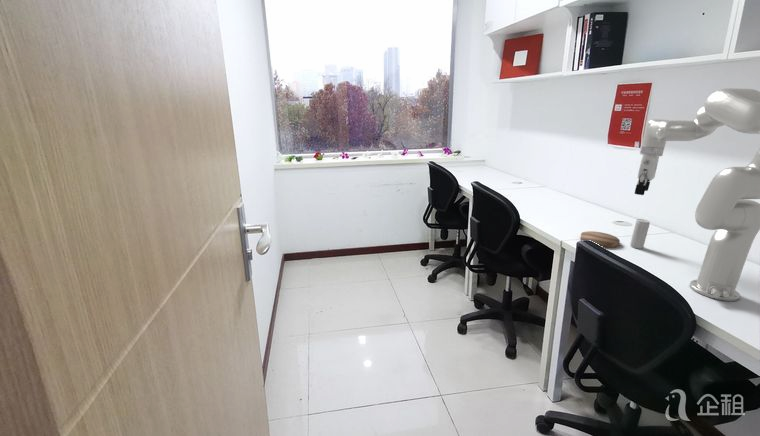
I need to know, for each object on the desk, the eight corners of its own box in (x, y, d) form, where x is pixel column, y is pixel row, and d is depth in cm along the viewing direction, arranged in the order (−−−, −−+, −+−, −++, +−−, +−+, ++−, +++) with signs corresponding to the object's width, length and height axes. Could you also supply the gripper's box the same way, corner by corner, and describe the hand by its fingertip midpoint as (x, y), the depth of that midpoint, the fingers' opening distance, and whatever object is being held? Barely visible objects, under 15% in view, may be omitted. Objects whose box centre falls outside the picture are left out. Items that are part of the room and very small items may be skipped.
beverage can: (639, 245, 162) (645, 219, 158) (645, 249, 157) (652, 222, 153) (627, 244, 162) (634, 218, 158) (633, 248, 158) (640, 222, 154)
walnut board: (618, 250, 155) (619, 246, 155) (578, 242, 163) (579, 238, 162) (619, 239, 167) (620, 235, 167) (581, 233, 175) (582, 229, 174)
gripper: (660, 154, 141) (648, 198, 146) (666, 150, 153) (655, 190, 158) (636, 152, 145) (626, 194, 151) (644, 148, 158) (634, 187, 163)
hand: (641, 192), depth 155 cm, fingers open, 9 cm apart
